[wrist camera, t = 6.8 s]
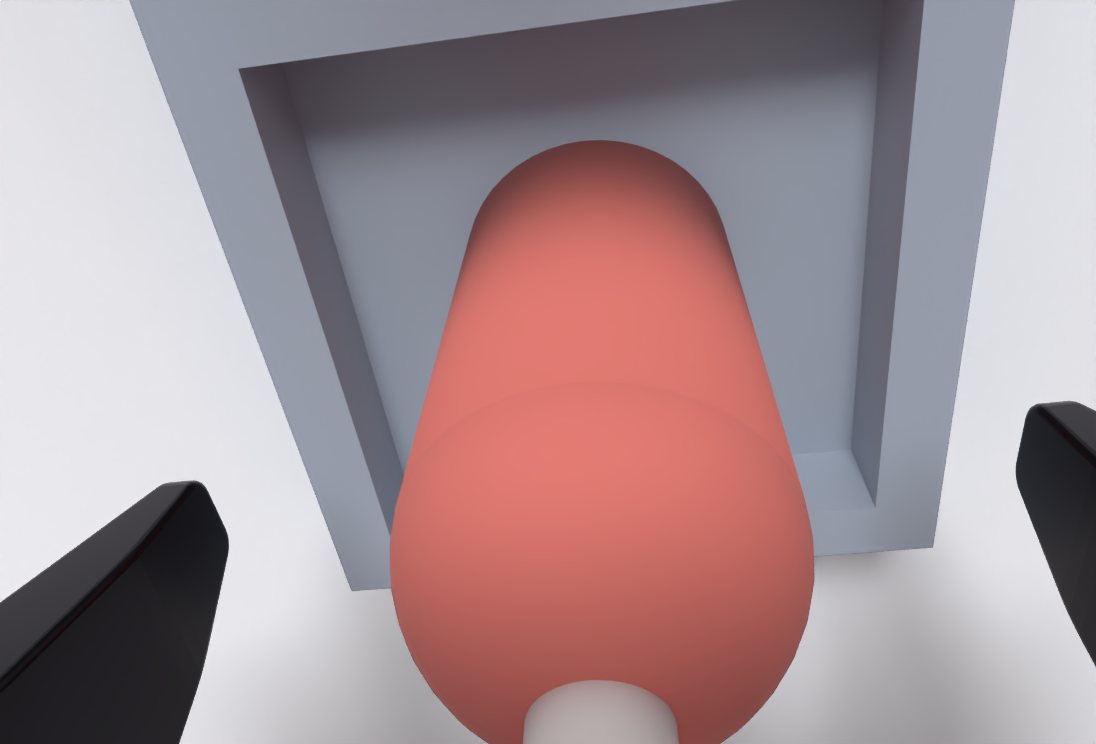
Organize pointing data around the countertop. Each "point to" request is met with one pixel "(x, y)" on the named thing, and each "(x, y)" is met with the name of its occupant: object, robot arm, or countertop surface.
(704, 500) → the red rounded cylinder
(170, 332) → the countertop surface
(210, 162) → the tray
